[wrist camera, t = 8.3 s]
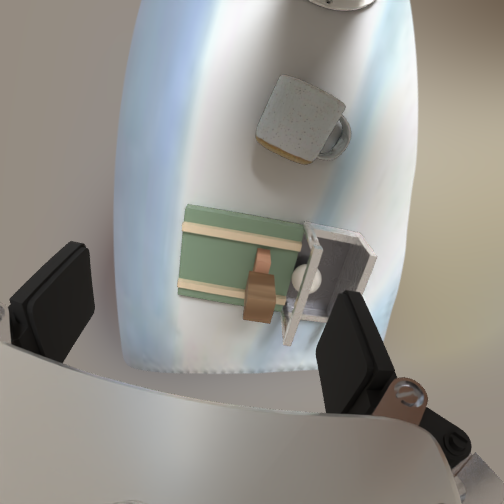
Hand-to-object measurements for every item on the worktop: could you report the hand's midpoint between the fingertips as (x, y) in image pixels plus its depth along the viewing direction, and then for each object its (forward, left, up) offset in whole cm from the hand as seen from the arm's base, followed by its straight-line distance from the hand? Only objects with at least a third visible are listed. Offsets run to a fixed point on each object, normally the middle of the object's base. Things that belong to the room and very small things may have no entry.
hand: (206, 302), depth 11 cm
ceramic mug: (-6, +6, -29) cm, 30 cm away
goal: (+13, +12, -28) cm, 34 cm away
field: (+13, +1, -28) cm, 31 cm away
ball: (+13, +11, -26) cm, 31 cm away
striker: (+13, +4, -27) cm, 30 cm away
